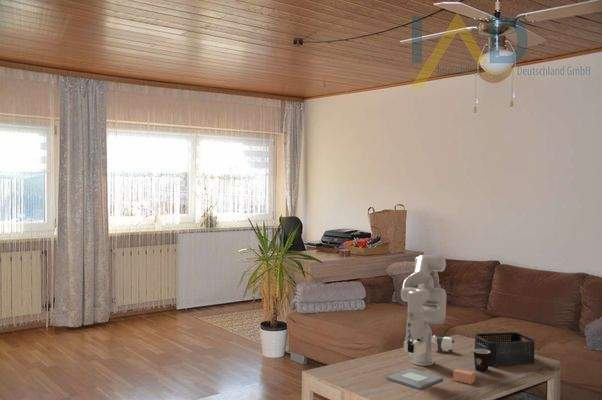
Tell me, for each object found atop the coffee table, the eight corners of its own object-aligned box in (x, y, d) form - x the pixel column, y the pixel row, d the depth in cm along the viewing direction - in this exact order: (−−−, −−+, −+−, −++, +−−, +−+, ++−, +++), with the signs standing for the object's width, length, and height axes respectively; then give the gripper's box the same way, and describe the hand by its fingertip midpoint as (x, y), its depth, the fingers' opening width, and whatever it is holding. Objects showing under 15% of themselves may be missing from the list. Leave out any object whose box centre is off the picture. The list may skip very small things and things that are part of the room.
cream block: (403, 351, 291) (403, 341, 291) (410, 349, 295) (410, 339, 295) (419, 355, 285) (419, 345, 284) (425, 352, 289) (425, 342, 289)
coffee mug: (469, 368, 308) (469, 349, 308) (482, 366, 311) (483, 348, 311) (484, 375, 297) (484, 356, 297) (497, 373, 301) (497, 354, 300)
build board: (386, 379, 291) (386, 376, 291) (409, 370, 305) (409, 367, 304) (419, 389, 276) (419, 386, 276) (442, 379, 290) (442, 377, 290)
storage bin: (516, 353, 335) (517, 331, 335) (537, 364, 316) (537, 340, 316) (471, 356, 329) (472, 333, 329) (490, 367, 310) (490, 343, 310)
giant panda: (454, 351, 338) (454, 335, 338) (453, 354, 333) (453, 337, 333) (429, 348, 344) (429, 332, 344) (427, 351, 339) (427, 334, 339)
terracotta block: (453, 380, 289) (453, 370, 289) (457, 377, 294) (457, 367, 294) (470, 384, 284) (470, 374, 284) (475, 381, 289) (475, 371, 289)
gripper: (411, 319, 281) (410, 356, 281) (431, 314, 293) (430, 349, 293) (398, 316, 286) (398, 352, 287) (418, 311, 298) (418, 346, 298)
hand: (414, 350), depth 290 cm, fingers closed on cream block, 6 cm apart
